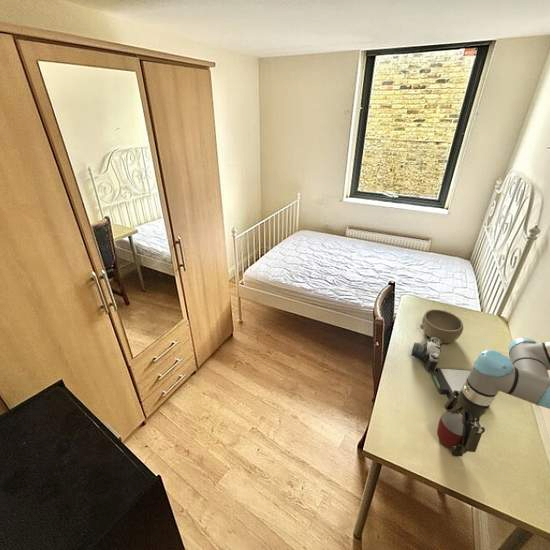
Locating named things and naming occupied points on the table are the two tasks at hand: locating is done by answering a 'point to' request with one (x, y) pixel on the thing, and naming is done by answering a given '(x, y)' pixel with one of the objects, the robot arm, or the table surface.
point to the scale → (450, 380)
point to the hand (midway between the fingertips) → (450, 441)
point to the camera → (428, 353)
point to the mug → (450, 429)
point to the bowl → (442, 325)
